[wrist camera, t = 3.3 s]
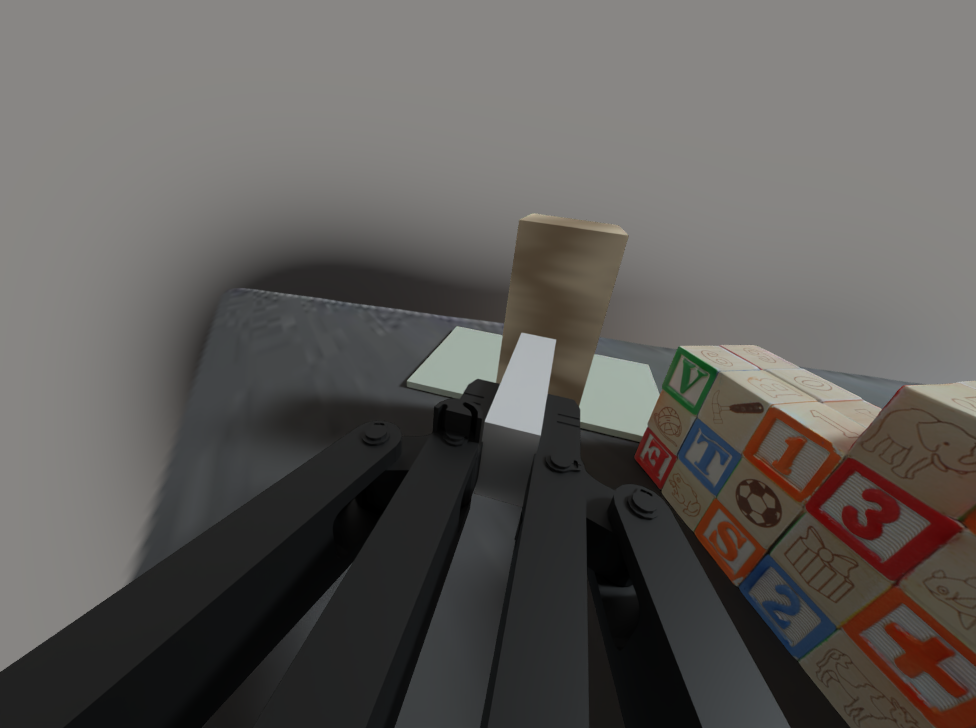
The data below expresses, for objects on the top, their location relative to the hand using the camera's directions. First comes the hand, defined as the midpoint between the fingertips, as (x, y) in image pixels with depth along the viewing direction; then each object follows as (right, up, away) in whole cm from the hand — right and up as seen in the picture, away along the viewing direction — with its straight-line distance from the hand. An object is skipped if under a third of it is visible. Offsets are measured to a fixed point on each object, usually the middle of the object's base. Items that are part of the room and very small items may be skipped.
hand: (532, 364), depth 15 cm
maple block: (+1, -6, +10) cm, 11 cm away
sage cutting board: (+3, -1, +19) cm, 19 cm away
